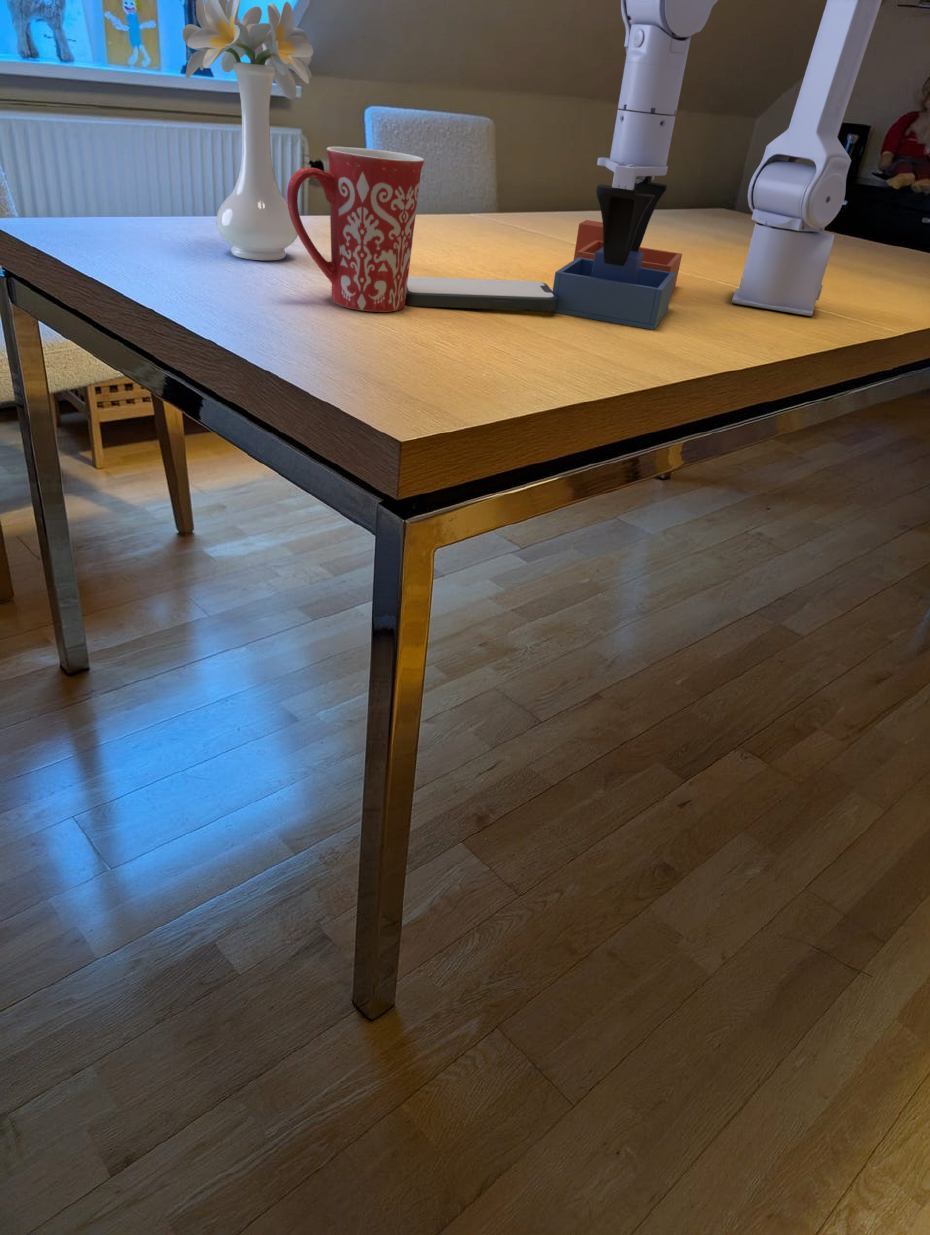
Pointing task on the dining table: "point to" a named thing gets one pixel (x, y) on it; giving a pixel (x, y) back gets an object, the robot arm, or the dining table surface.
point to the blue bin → (613, 295)
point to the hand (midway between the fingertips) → (620, 259)
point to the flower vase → (253, 114)
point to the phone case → (480, 294)
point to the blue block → (618, 268)
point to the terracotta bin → (650, 259)
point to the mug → (365, 224)
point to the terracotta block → (588, 234)
